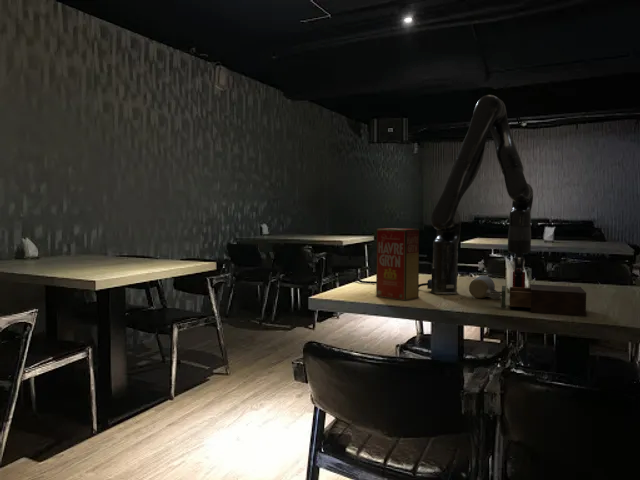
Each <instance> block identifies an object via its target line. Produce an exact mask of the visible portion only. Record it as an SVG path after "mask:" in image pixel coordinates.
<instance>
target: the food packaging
mask: <svg viewBox="0 0 640 480" xmlns="http://www.w3.org/2000/svg"><path fill="white" fill-rule="evenodd" d="M375 231H376V234H375V235H376V237H375V239H376V240H375V241H376V243H375V245H376V246H375V247H376V250H375V251H376V263H375V264H376V267H375V268H376V270H375V271H376V274H375V275H376V276H375V277H376V278H375V279H376V280H375V281H376V285H375V297H377V298H384V299H391V300H397V301H398V300H399V301H403V302H407V301H412V300H416V299H418V298H420V297H419V294H420V293H419V291H420V287H419V284H420V283H419V281H420V280H419V279H420V228H398V227H397V228H395V227H386V228H385V227H383V228H376V230H375Z"/></svg>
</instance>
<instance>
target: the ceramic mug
mask: <svg viewBox="0 0 640 480" xmlns="http://www.w3.org/2000/svg"><path fill="white" fill-rule="evenodd" d="M468 285H469V286H468V290H469V293H470V295H471V296H472V297H474V298H475V299H485V298H486V297H487V296H486V291H487V290H490V291H497V290H496V289H495V288H496V285H495V282H494V280H493V279H492V278H491V277H490V276H488V275H485V274H484V275H483V274H482V275H479V276H477V277H476V278H474V279H473V280H472V281H471V282H470V283H469V284H468ZM492 294H500V293H492ZM488 298H491V299H493V300H500V299H501V296H491V295H490V296H489V297H488Z"/></svg>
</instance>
